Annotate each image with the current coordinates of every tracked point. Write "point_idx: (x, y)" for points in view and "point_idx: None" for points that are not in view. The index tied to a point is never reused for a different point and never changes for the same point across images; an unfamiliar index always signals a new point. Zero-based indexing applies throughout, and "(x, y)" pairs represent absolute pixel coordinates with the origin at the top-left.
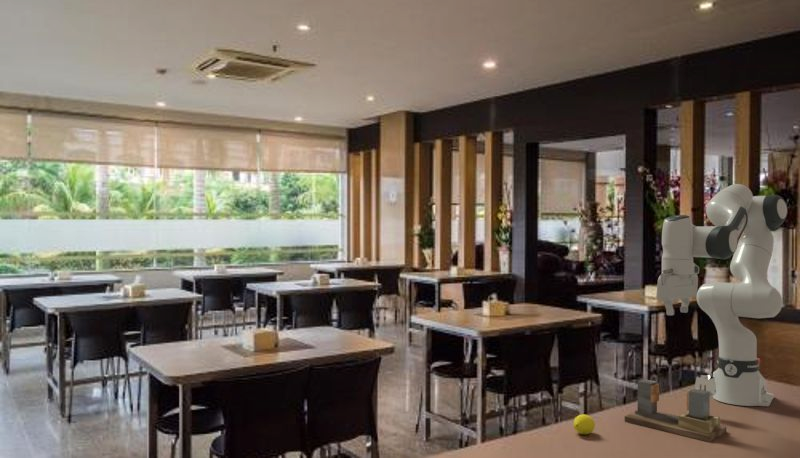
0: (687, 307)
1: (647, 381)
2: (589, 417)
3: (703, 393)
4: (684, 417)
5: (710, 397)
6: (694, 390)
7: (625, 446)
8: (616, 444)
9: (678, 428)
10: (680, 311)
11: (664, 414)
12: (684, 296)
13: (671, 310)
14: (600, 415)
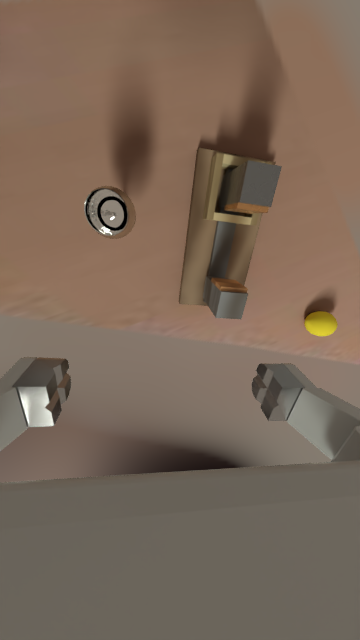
0: (9, 381)
1: (231, 306)
2: (329, 322)
3: (277, 168)
4: (258, 213)
5: (117, 201)
6: (257, 197)
7: (340, 261)
8: (336, 273)
9: (257, 222)
10: (69, 390)
11: (213, 261)
12: (149, 508)
13: (310, 386)
14: (227, 337)
